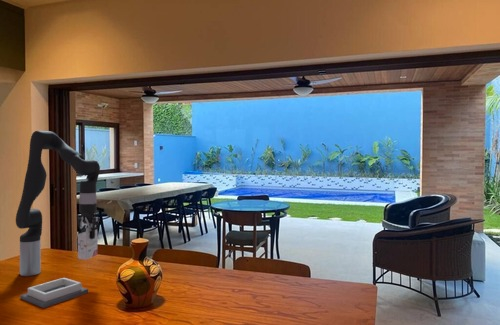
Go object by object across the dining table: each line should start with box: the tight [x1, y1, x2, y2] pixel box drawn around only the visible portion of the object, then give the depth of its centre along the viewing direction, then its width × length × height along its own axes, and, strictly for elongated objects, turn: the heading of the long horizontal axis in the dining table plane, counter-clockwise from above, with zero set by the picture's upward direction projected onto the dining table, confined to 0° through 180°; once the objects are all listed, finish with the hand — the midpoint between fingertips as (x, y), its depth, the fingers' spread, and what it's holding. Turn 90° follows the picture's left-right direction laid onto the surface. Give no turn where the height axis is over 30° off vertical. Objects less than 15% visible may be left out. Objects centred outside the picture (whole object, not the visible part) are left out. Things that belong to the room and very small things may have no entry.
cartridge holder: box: [20, 277, 89, 309], centre depth 163 cm, size 18×20×4 cm
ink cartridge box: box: [77, 225, 99, 260], centre depth 176 cm, size 9×5×15 cm, turn 168°
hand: (87, 237), depth 176 cm, fingers closed on ink cartridge box, 6 cm apart
